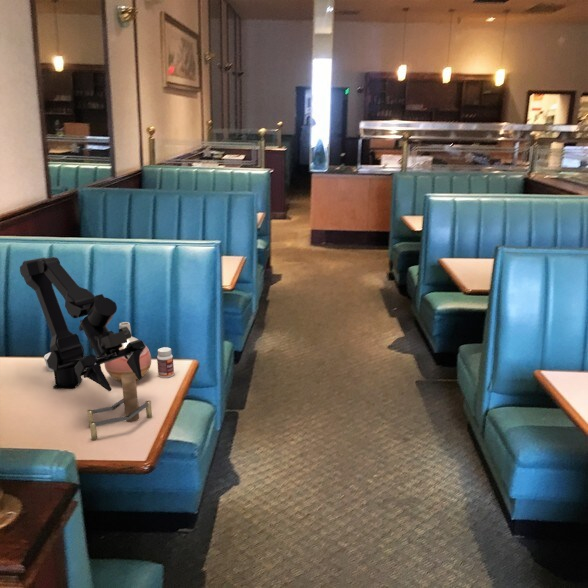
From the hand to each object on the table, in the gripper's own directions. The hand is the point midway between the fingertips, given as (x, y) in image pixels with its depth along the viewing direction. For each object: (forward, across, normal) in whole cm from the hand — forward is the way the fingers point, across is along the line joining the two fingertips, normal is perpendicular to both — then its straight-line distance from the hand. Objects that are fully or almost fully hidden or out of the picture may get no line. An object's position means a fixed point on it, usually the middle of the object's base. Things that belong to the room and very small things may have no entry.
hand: (125, 384), depth 162 cm
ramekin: (-25, +5, +39) cm, 47 cm away
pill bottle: (-4, +23, +17) cm, 29 cm away
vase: (-8, +14, +22) cm, 27 cm away
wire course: (+8, -4, +5) cm, 10 cm away
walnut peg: (+8, 0, +5) cm, 9 cm away
